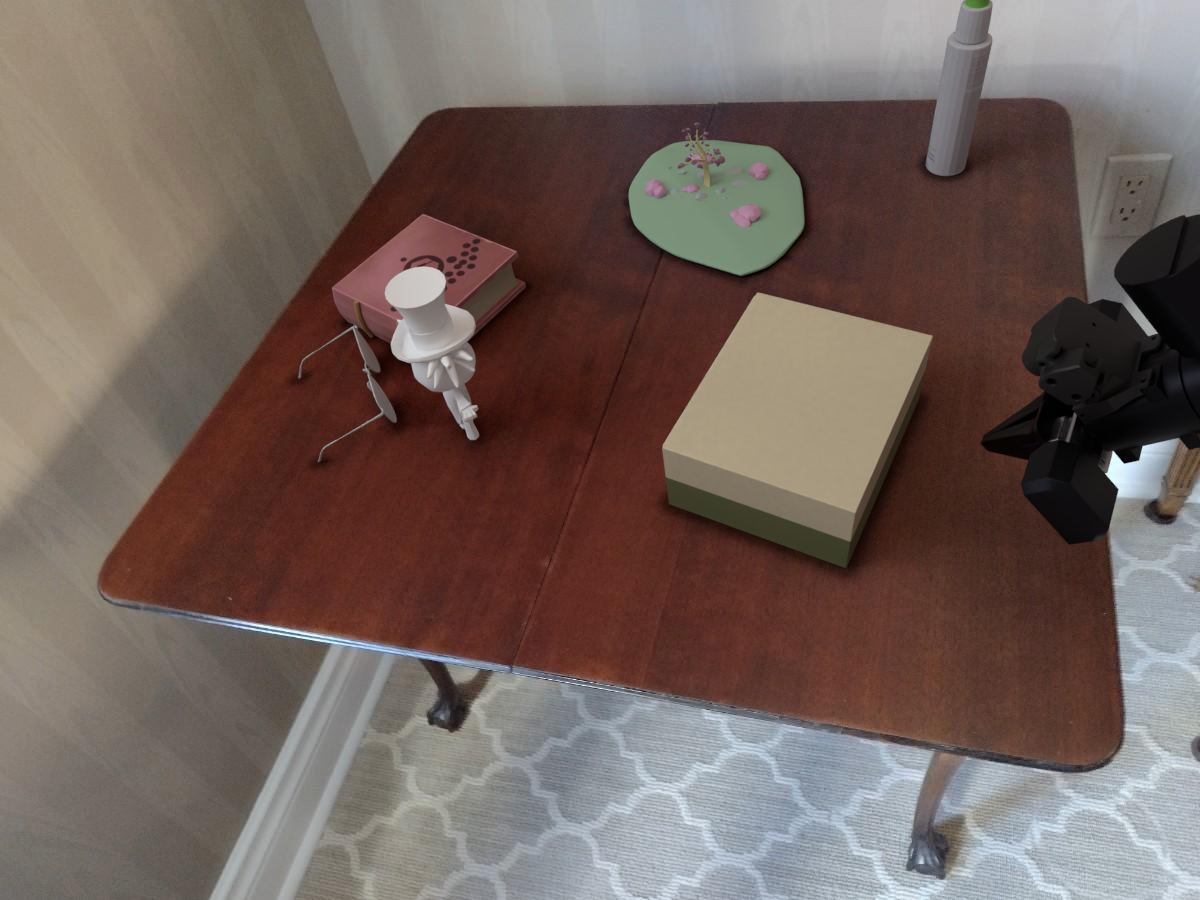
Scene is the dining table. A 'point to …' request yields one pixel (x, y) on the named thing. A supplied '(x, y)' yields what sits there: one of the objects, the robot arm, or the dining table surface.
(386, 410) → the sunglasses
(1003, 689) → the dining table surface
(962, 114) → the bottle
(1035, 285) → the dining table surface
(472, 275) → the book
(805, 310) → the beige lidded box
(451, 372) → the figurine
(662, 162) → the green garden diorama
